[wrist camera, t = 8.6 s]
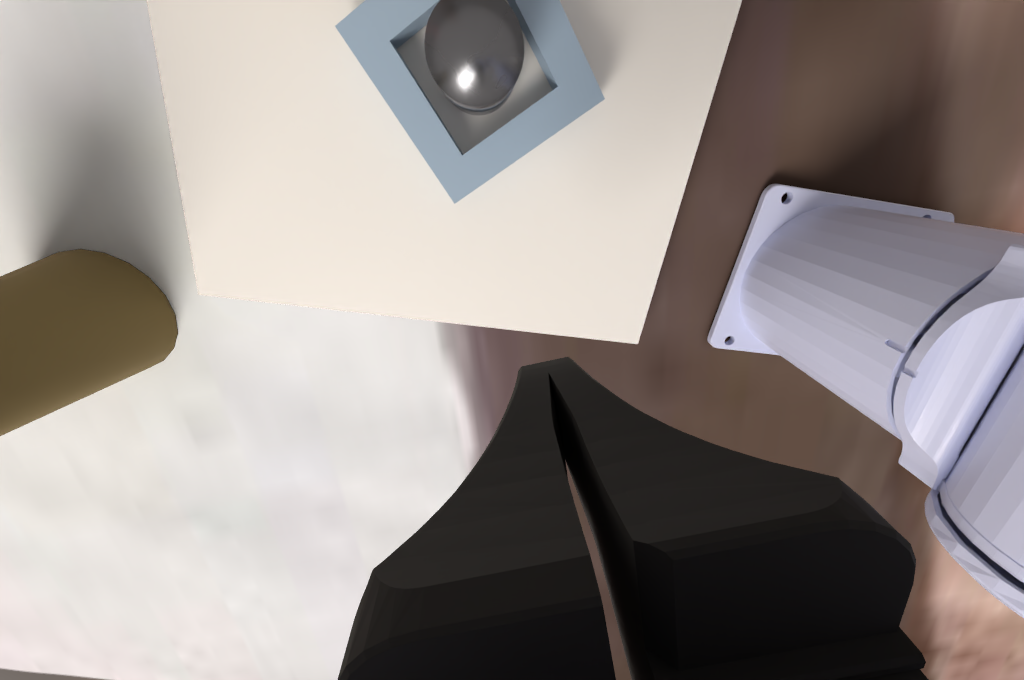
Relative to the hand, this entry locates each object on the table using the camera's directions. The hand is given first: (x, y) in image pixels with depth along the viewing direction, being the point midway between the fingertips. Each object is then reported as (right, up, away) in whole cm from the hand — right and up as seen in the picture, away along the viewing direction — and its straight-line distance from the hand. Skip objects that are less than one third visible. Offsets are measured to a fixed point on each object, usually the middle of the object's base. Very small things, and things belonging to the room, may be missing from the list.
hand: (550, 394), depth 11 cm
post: (-2, +12, +5) cm, 13 cm away
